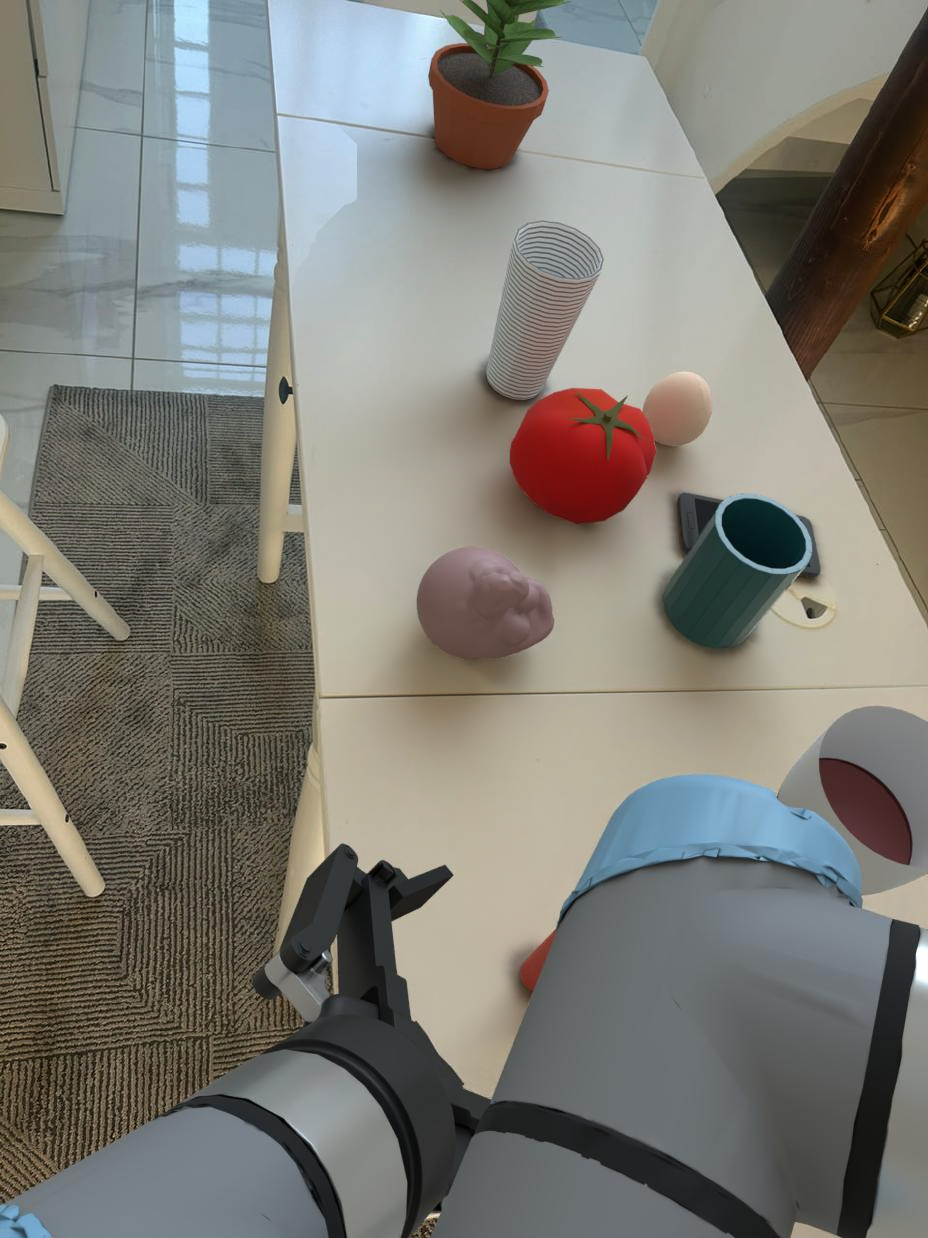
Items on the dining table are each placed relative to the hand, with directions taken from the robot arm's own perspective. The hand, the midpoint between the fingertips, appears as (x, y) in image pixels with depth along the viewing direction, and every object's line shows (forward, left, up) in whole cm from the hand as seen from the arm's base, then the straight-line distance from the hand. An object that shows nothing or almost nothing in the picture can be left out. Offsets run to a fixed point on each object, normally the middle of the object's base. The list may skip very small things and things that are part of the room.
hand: (515, 988), depth 51 cm
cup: (+55, -33, -14) cm, 65 cm away
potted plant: (+95, -48, -14) cm, 107 cm away
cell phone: (+30, -46, -14) cm, 56 cm away
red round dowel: (+2, -7, -14) cm, 16 cm away
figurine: (+28, -15, -14) cm, 34 cm away
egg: (+44, -45, -14) cm, 64 cm away
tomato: (+40, -31, -14) cm, 52 cm away
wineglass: (0, -21, -14) cm, 26 cm away
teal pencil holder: (+24, -37, -14) cm, 46 cm away
